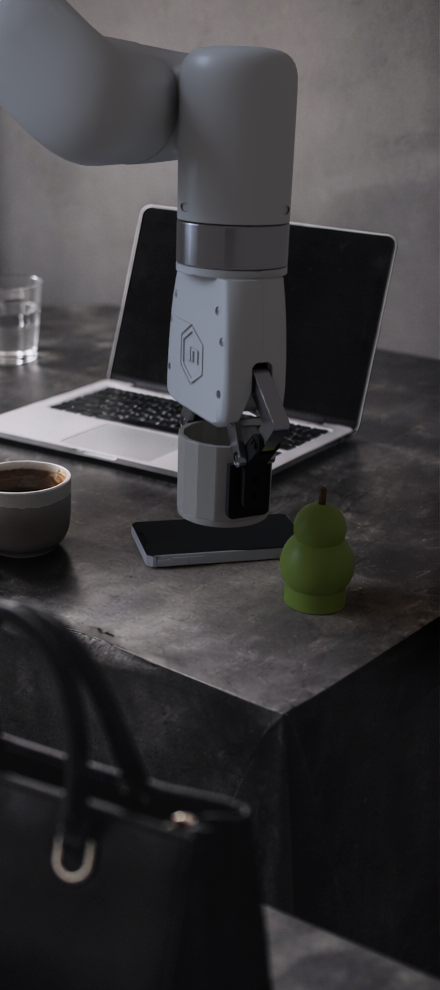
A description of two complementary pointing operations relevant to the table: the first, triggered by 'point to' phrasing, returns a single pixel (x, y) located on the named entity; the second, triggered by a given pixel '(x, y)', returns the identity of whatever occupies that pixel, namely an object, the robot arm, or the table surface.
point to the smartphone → (210, 541)
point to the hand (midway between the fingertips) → (223, 495)
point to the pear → (317, 559)
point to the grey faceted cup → (207, 475)
